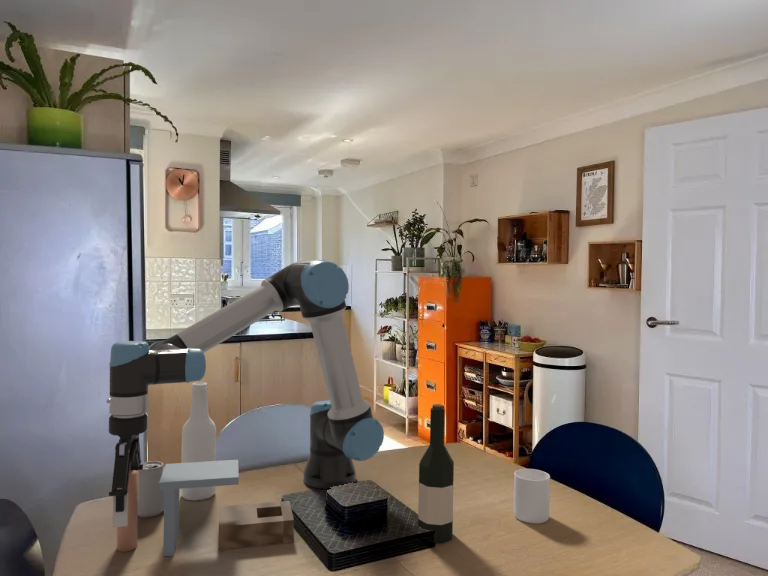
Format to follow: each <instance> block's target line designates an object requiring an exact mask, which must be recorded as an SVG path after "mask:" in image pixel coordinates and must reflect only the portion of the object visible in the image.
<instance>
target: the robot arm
mask: <svg viewBox="0 0 768 576" xmlns="http://www.w3.org/2000/svg"><path fill="white" fill-rule="evenodd" d="M349 287H350V285H349V279H348V276H347V274H346V273H345V271H344V270H343V269H342V267H341V266H339V265H338V264H336V263H335V262H331V261H328V260H324V259H315V260H300V261H295V262H293V263H290V264H289V265H286V266H285V267H283V268H282V269H280V270H278V271H277V272H275V273H274V274H272V275H271V276H268V277H267V278H265V279H263V280H262V281H261V282H260V286H259V287H256V289H254V290H251V291H250V292H248V293H246V294H245V295H243V296H241V297H240V298H238V299H236V300H234V301H233V302H230V303H229V304H227V305H225V306H223V307H221V308H220V309H218V310H217V311H214V312H213V313H211V314H209V315H207V316H205V317H203V318H201V320H198V321H197V322H195V323H194V324H192V325H190V326H188V327H186V328H185V329H183V330H181V331H180V332H177V333H176V334H174V335H173V336H171V337H169V338H166V339H164V340H161V341H160V340H159V341H155V342H153V343H152V344H150V345H149V343H148V342H147V341H144V340H142V341H141V340H125V341H118V342H115V343H113V344H112V346H111V349H110V358H109V359H110V360H109V363H108V364H109V398H107V399H106V404H109V408H108V409H109V414H110V416H108V433H109V434H110V435H112V436H114V437H115V436H118V437H119V440H118V442H116V443H115V446H114V450H115V453H114V463H113V464H114V465H113V473H112V484H111V491H108V497H112V498H113V499H112V528H117V527H122V526H127V525H128V491H127V489H128V482H129V474H130V470H135V471H137V470H143V465H140V464H141V463H142V459H141V446H140V445H141V444H140V434H143V433H145V432H146V431H147V430H148V414H147V412H148V410H149V409H148V408H149V391H148V390H149V386H150V385H151V386H154V385H162V384H163V385H164V384H179V383H180V384H181V383H187V384H189V383H192V382H193V383H194V382H201V381H202V379H203V378H204V377H205V376H206V375H205V374H206V368H207V367H206V366H207V364H206V363H207V362H206V361H207V360H206V355H205V353H206V352H208V351H209V350H211V349H213V348H215V347H216V346H218V345H220V344H222V343H223V342H225V341H226V340H228V339H230V338H231V337H233V336H235V335H236V334H238V333H240V332H242V331H243V330H245V329H247V328H248V327H250V326H251V325H254V324H256V323H257V322H258V321H261V320H262V319H263V318H266V317H267V316H269V315H270V314H272V313H273V312H279V313H281V312H282V311H284V310H286V309H288V308H291V307H293V306H298V305H299V309H300V313H301V317H302V319H304V320H305V321H307V322H309V324H310V329H311V332H312V335H313V339H314V340H313V341H314V343H315V348H316V351H317V356H318V359H319V363H320V367H321V371H322V375H323V378H324V379H323V380H324V383H325V387H326V392H327V395H328V400H327V399H326V400H319V401H316V402H314V403H312V405H311V406H310V412H309V413H310V414H309V417H310V423H309V425H310V426H309V427H310V428H309V431H310V432H309V455H308V459H307V461H306V464H305V467H304V469H303V470H304V471H303V478H302V479H303V483H304V484H305V485H307V486H309V487H311V488H315V489H321V488H323V489H321V490H328V489H327V488H330V487H333V486H339V485H344V484H348V483H352V482H354V483H355V482H356V480H357V479H356V478H357V473H356V472H357V471H356V468H355V465H354V461H357V462H365V461H367V460H370V459H372V458H373V457H374V456H375V455H376V454H377V453H378V452H379V451H380V448H381V446H382V445H383V442H384V436H385V431H384V427H383V425H382V424H381V422H379V420H378V419H376V418H374V417H373V416H374V415H373V411H372V408H371V403H370V402H369V401H368V400H366V399H364V398H363V395H362V391H361V387H360V382H359V379H358V374H357V371H356V366H355V363H354V358H353V354H352V350H351V346H350V341H349V337H348V333H347V328H346V325H345V321H344V317H343V313H344V312H345V310H346V308H347V303H346V299H347V294H348V293H349V290H350V289H349ZM118 488H122V489H118ZM138 500H139V471H138Z"/></svg>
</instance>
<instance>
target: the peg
mask: <svg viewBox="0 0 768 576" xmlns="http://www.w3.org/2000/svg"><path fill="white" fill-rule="evenodd" d="M117 489H122V488H117ZM127 491H128V525H127V526H122V527H116V550H117V551H118V552H122V553H124V552H130V551H134V550H135V549H137V547H138V526H139V525H138V521H139V519H138V518H139V517H138V471H135V470H130V474H129V482H128V489H127Z"/></svg>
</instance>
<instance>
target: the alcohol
mask: <svg viewBox="0 0 768 576" xmlns="http://www.w3.org/2000/svg"><path fill="white" fill-rule="evenodd" d="M191 391H192V392H191V401H190V403H191V404H190V413H189V417H188V419H187V420H186V421H185V423H184V424H183V426H182V430H181V455H180V456H181V462H180V463H190V462H206V461H217V426H216V423H215V422H214V420H213V419H212V418H211V417H210V414H209V400H208V397H209V396H208V382H205V381H204V382H203V381H195V382H193V383H191ZM216 488H217V486H211V487H197V488H183V489H180V495H181V497H182V498H183V500H185V499H186V501H189V500H193V501H192V502H198V501H199V500H200V501H204V499H205V500H208V499H211V498H212V497H213V496H214V494H215V493H216V491H217V490H216ZM197 500H198V501H197ZM200 501H199V502H200Z"/></svg>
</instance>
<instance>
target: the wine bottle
mask: <svg viewBox="0 0 768 576" xmlns="http://www.w3.org/2000/svg"><path fill="white" fill-rule="evenodd" d="M445 409H446V408H444V405H443V404H441V403H440V404H438V403H435V404H432V407H430V423H429V424H430V425H429V426H430V428H429V429H430V430H429V446H428V447H427V448H426V450H425V452H424V454H423V455H422V457H421V459H420V461H419V464H418V510H417V511H418V513H417V517H418V518H417V527H418V526H420V527H421V528H423V529H426V530H433V531H435V533H434V543H433V544H444V543H447V542H450V541H452V540H453V529H454V528H453V527H454V525H453V519H454V518H453V517H454V470H455V461H454V460H453V458H452V456H451V455H450V453H449V451H448V449H447V447H446V445H445V420H446V417H445V416H446V415H445V414H446V413H445V412H446V410H445Z"/></svg>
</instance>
